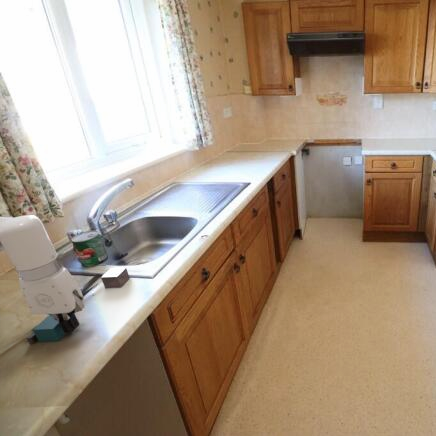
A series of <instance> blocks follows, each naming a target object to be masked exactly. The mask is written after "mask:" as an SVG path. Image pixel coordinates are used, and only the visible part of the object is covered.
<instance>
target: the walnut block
mask: <svg viewBox="0 0 436 436" xmlns="http://www.w3.org/2000/svg"><path fill="white" fill-rule="evenodd" d="M130 278H131V277H130V274H129V271H128V269H127V267H111V268H109V269H107V270H106V272H105V273H104V274H102V276H101V277H100V280H101V282H102V284H103V286H104V289H116V288H118V289H120V288H122V287H123V286H124V285H125V284H126V283H127V282H128V280H129V279H130Z"/></svg>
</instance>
